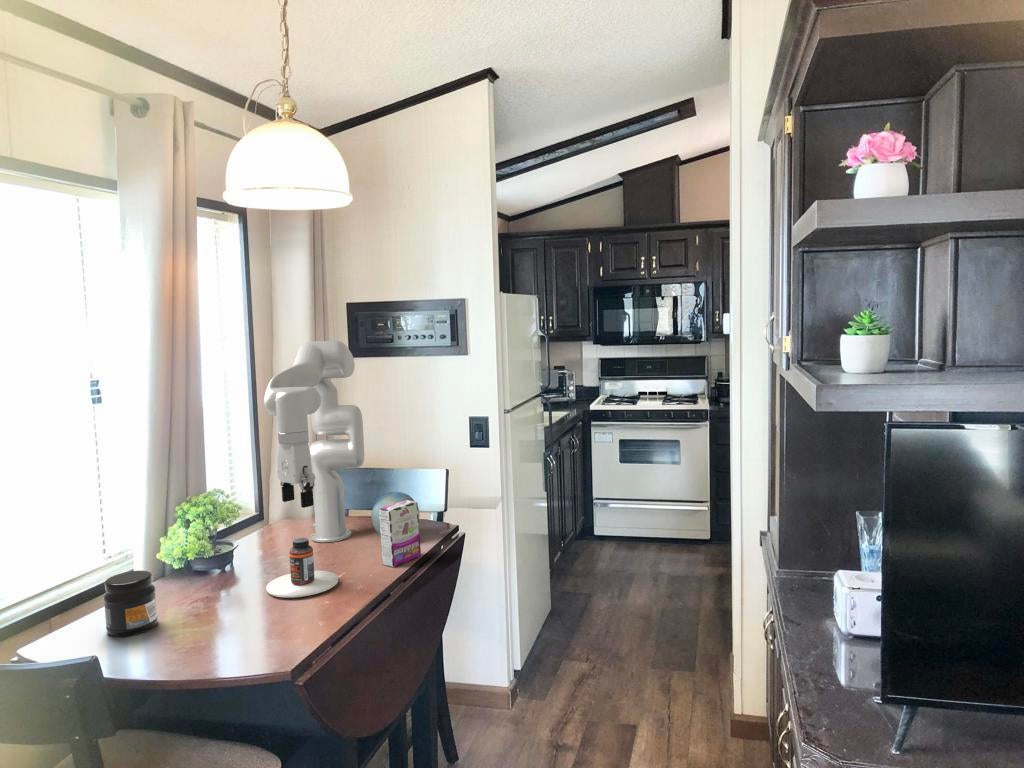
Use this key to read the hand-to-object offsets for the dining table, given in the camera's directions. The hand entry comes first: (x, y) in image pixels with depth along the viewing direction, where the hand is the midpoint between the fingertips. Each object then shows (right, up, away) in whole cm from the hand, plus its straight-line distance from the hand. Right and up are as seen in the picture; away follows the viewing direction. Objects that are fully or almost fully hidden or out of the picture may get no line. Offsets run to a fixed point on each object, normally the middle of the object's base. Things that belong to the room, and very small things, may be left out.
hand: (297, 503), depth 184 cm
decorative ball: (+19, -18, +41) cm, 49 cm away
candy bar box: (+24, -20, +20) cm, 37 cm away
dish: (+1, -22, +2) cm, 22 cm away
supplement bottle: (+1, -21, +2) cm, 21 cm away
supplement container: (-31, -25, -21) cm, 46 cm away
